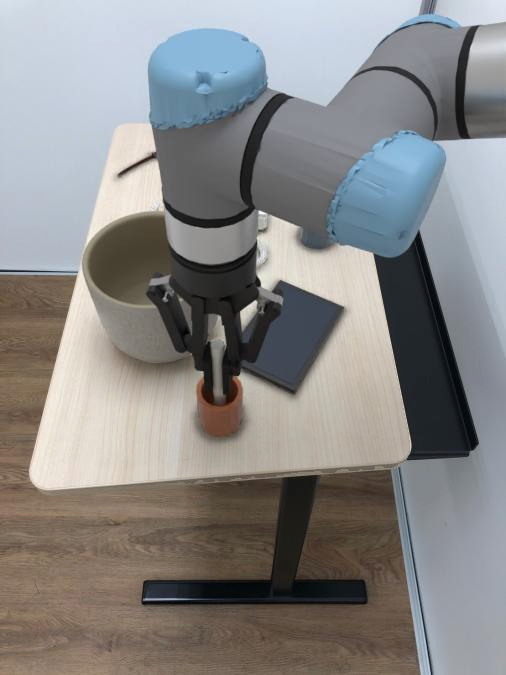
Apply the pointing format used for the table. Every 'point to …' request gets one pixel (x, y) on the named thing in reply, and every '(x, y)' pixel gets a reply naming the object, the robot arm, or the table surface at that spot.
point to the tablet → (293, 337)
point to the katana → (139, 162)
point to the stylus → (218, 371)
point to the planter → (133, 285)
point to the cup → (220, 410)
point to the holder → (313, 239)
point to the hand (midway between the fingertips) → (219, 383)
